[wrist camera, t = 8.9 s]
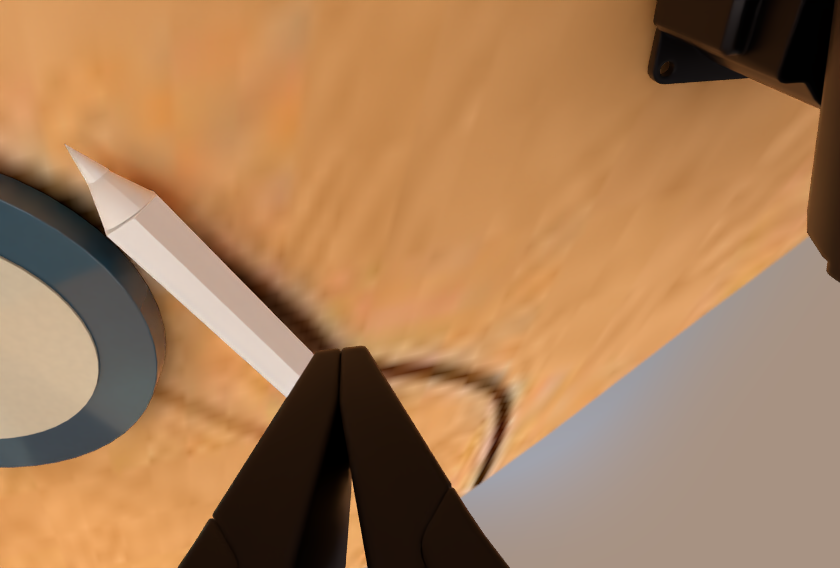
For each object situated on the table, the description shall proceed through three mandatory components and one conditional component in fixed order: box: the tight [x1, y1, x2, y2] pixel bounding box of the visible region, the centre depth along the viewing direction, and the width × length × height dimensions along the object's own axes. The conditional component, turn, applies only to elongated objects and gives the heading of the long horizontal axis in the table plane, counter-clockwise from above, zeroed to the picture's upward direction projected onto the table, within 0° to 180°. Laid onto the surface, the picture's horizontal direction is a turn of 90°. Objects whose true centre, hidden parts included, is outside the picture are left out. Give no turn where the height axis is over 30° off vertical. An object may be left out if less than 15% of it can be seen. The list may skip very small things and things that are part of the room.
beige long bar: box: [65, 144, 314, 398], centre depth 22 cm, size 3×2×16 cm
